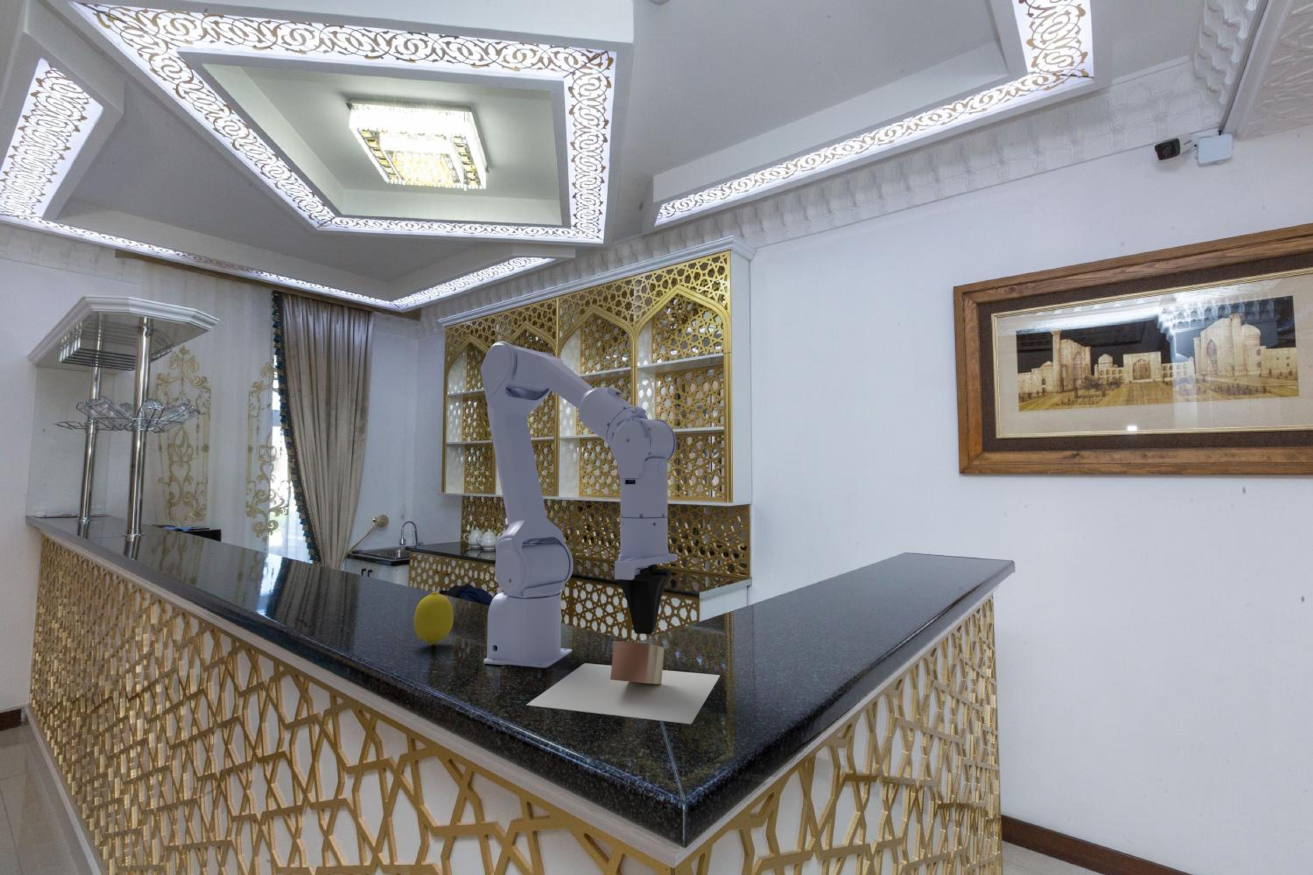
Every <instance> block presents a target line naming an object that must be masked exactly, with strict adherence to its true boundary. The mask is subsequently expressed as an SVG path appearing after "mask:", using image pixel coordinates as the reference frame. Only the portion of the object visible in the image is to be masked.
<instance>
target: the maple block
mask: <svg viewBox="0 0 1313 875" xmlns="http://www.w3.org/2000/svg"><path fill="white" fill-rule="evenodd" d="M613 643H614V644H613V650H612V659H611V660H612V661H611V666H612V668H611V677H610V680H618V681H629V682H639V683H651V684H661V683H662V670H664V669H663V667H664V654H665V647H662V646H659V645H655V644H651V643H646V642H634V641H633V642H631V641H622V640H621V641H618V640H614V642H613Z"/></svg>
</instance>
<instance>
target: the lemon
mask: <svg viewBox="0 0 1313 875" xmlns="http://www.w3.org/2000/svg"><path fill="white" fill-rule="evenodd" d="M453 624H454V609H453V605H452V603H451V601H450V599H449V598H447V597H446V596H444V595H442V594H440V593H439V592H437V591H432V592H431V593H430V594H428V595H426V596H425V597H424V598H422V599H421V600H420V601H419V603H418V604H417V606H416V608H415V612H414V618H413V628H414V632H415V634H416V636H417V637H418V638H419V639H420V640H422V641H423V642H426V643H427V644H428V645H430V644H436V643H437V644H438V643H439V642H441V641H442V640H444V639H445V638H447V636H448V635H449V634H450V632H451V630H452V628H453ZM437 644H436V645H437Z"/></svg>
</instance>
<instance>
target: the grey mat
mask: <svg viewBox="0 0 1313 875" xmlns="http://www.w3.org/2000/svg"><path fill="white" fill-rule="evenodd" d="M611 668H612V665H610V664H609V665H608V664H598V663H597V664H596V663H586V662H585V663H583V664H581V665H580V666H579V667H577V668H576V669H574V670H573V671H572V672H570V673H569V674H568V675H566V676H565V677H563V678H561V679H560V681H558V682H556V683H555V684H553V685H552V686H551V687H549V688H548V689H546V690H545V691H544V692H542V693H541V694H539V695H538V696H536V697H535V698H533V699H532V700H531V701H530V702H528V703H527V704H526V706H530V707H540V708H548V709H556V710H564V711H573V712H582V713H592V714H599V715H608V716H618V717H626V718H634V719H643V720H653V721H660V722H669V723H670V722H671V723H679V724H685V725H692V724H693V722H694V720H695V719H696V717H697V716H698V714H699V713H700V710H701V709H702V707H703V705H704V704H705V702H706V700H707V699H708V697H709V695H710V694H711V692H712V690H713V688H714V687H715V685H717V682H718V680H719V678H720V676H721V674H720V675H719V674H710V673H697V672H687V671H676V670H665V669H663V670H662V683H661V684H651V683H639V682H629V681H618V680H610V677H611Z"/></svg>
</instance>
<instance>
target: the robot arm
mask: <svg viewBox="0 0 1313 875" xmlns="http://www.w3.org/2000/svg"><path fill="white" fill-rule="evenodd" d="M479 369H480V373H481V378H482V384H483V390H484V395H485V396H484V397H485V402H486V404H487V418H488V422H489V427H490V428H489V429H490V434H491V438H492V445H493V449H494V450H493V451H494V455H495V461H496V467H497V472H498V478H499V481H500V482H499V483H500V490H501V492H502V499H503V504H504V510H505V514H506V520H507V528H506V530H504V532H503V533H502V534H501V535H500V536H499V538H497V540H496V541H495V543H494V546H495V554H496V555H495V565H494V574H495V575H494V576H495V579H496V583H497V584H498V586H499V588H500V589H501V592H499V593H497V594H496V595H494V596H493V598H492V599H491V602H490V605H489V608H488V612H487V637H486V638H487V640H486V641H487V642H486V646H487V647H486V649H487V650H486V651H487V652H486V658H483V664H488V665H500V666H504V665H511V666H520V667H531V668H541V669H542V668H543V669H544V668H545V669H546V668H549V667H551V666H552V665H554V664H555V663H557V662H558V661H560V660H561V659H564V658H565V657H566V656H568V655H569V654H571V653H572V652H573V649H571V648H561V646H562V645H561V644H562V643H561V642H562V641H561V640H562V639H561V636H562V635H561V634H562V631H561V630H562V629H561V628H562V625H561V622H562V591H566V590H565V589H566V586H565V585H566V583H568V581H569V580H570V578H571V576H572V575H573V571H574V558H573V555H572V552H571V549H570V548H569V547H568V545H567V544H566V542H565V539H564V534H563V531H562V530H561V529H560V528H559V527H558V526H557V525H555V524H554V523H552V522H551V521H550V520H549V519H548V518H547V517H548V516H547V512H546V507H545V501H544V497H543V492H542V488H541V486H542V485H541V483H540V477H539V472H538V468H537V463H536V458H535V453H534V448H533V444H532V442H533V441H532V438H531V433H530V429H529V423H528V416H529V414H531V413H532V412H534V411H535V410H537V409H538V407H540V405H541V404H542V402H543V401H544V400H545V399H546V398H547V396H549V394H550V393H551V392H553V393H555V394H556V395H557V396H559V397H560V398H562V399H564V400H565V401H567V402H568V403H569V404H571V405H573V407H575V408H577V409H578V418H579V421H580V422H581V424H582V425H584V426H585V427H587V428H588V429H589V430H590V431H592V432H593V434H595V435H597V436H598V437H599V438H600V439H601V440H603V441H604V442H606V443H607V444H608V445H609V449H610V453H611V455H612V457H613V458H614V459H615V461H616V463H617V464H616V466H617V475H618V476H619V478H620V480H619V481H620V484H619V485H620V502H619V505H620V509H619V511H620V513H619V514H620V532H619V534H620V540H619V541H620V545H619V546H620V547H619V548H620V551H619V552H620V553H618V559H617V560H615V561H614V580H616V581H617V583H618V585H619V587H620V588H621V590H622V592H623V594H624V598H625V599H626V603H627V606H628V610H629V614H630V619H631V623H632V628H633V631H634V634H639V635H652V634H654V632H655V630H656V626H657V620H658V618H659V612H660V607H661V602H662V597H663V594H664V592H665V589H666V586H667V584H668V582H669V581H670V580H669V579H670V577H672V576H671V575H672V572H671V571H672V570H671V569H668V568H667V569H666V568H658V566H659V565H661V564H662V565H665V564H669V562H676V561H678V554H677V553H669V552H670V551H669V543H668V542H669V541H668V540H669V538H668V537H669V532H668V530H669V529H668V526H669V525H668V523H669V522H668V519H669V518H668V515H669V514H668V502H669V500H668V498H669V497H668V495H669V493H668V462H669V461H670V460H671V459H672V458H673V456H674V455H675V452H676V448H677V438H676V433H675V431H674V430H673V428H672V427H671V426H670V425H669V424H668V423H667V421H666V420H664V419H660V418H659V419H658V418H655V419H650V418H648V415H647V414H646V413H647V410H646V409H644V408H643V407H641V406H634V405H632V404H631V403H630V402H628V401H627V400H625V399H624V398H623V397H621V396H622V394H623V391H621V390H619V389H618V388H616V387H612V386H609V387H606V386H601V387H596V388H594V387H593V386H592V385H590V384H589V383H588V382H586V381H585V380H584V379H583V378H582V377H581V376H579V375H578V374H577V373H576V372H575V371H573V370H572V369H571V368H570V367H568V365H566V364H565V363H564V362H563V360H562V359H561V358H558V357H556V356H554V355H553V354H552V353H550V352H546V351H545V352H541V351H538V350H535V349H534V350H533V349H529V348H525V347H522V346H518V345H514V344H510V343H509V342H507V341H504V340H502V341H496V342H495V343H493V344H492V345H491V346H490V347H489V349H488V351H487V352H486V354H485V356H484V359H483V362H482V363H481V366H480V368H479Z"/></svg>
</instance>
